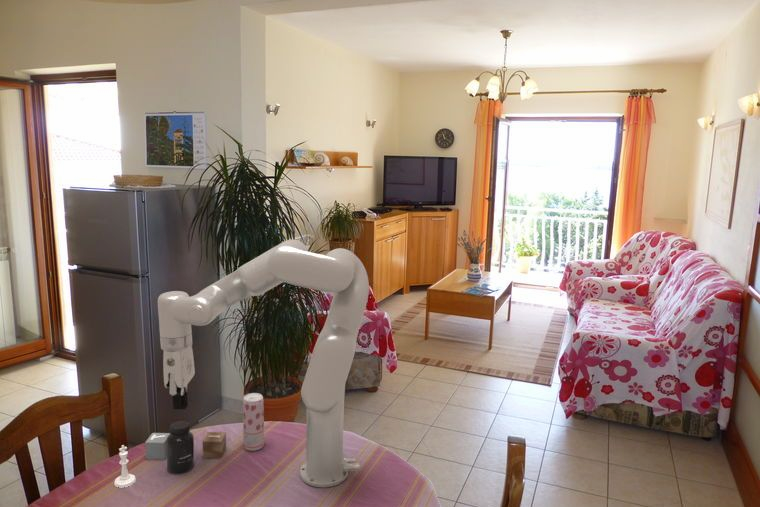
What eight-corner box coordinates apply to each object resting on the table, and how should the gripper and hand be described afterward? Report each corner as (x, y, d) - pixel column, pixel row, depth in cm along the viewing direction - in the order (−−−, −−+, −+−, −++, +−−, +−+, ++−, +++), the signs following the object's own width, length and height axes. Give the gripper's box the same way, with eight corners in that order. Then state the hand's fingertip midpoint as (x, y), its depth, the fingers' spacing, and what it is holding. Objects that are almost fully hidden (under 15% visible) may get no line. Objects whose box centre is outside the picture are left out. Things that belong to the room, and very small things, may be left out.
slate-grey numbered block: (171, 449, 153) (170, 432, 152) (164, 459, 149) (163, 442, 148) (153, 449, 153) (152, 432, 152) (146, 459, 148) (145, 441, 147)
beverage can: (240, 450, 154) (239, 400, 151) (247, 439, 160) (247, 391, 157) (260, 452, 153) (259, 402, 151) (266, 441, 159) (266, 393, 156)
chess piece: (111, 480, 138) (109, 444, 137) (132, 474, 142) (130, 438, 140) (117, 490, 135) (115, 453, 133) (138, 483, 138) (136, 446, 136)
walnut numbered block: (226, 448, 155) (225, 431, 154) (221, 458, 150) (221, 441, 149) (208, 448, 155) (207, 431, 154) (203, 458, 150) (202, 440, 149)
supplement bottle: (185, 476, 141) (184, 433, 139) (161, 472, 143) (159, 430, 140) (199, 461, 148) (198, 420, 146) (176, 458, 149) (174, 417, 147)
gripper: (181, 351, 131) (186, 422, 135) (200, 330, 146) (203, 395, 149) (149, 351, 131) (155, 422, 135) (171, 330, 146) (176, 395, 149)
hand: (180, 407), depth 142 cm, fingers closed
